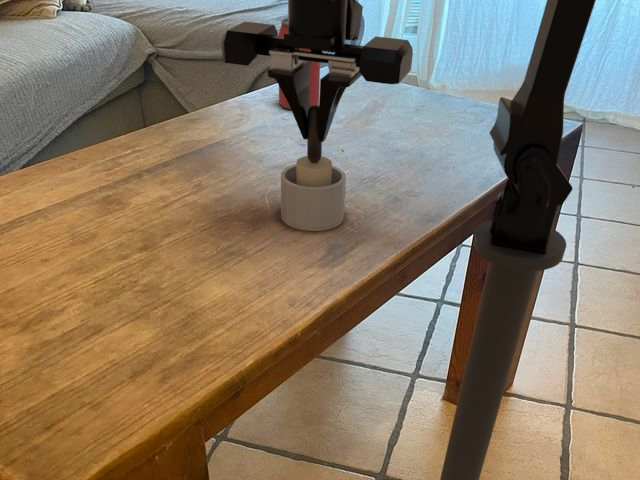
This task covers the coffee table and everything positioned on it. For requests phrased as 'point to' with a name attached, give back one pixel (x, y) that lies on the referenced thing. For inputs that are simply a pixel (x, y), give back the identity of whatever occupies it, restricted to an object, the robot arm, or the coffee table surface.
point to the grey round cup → (312, 202)
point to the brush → (313, 157)
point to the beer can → (313, 79)
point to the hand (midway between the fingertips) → (314, 139)
